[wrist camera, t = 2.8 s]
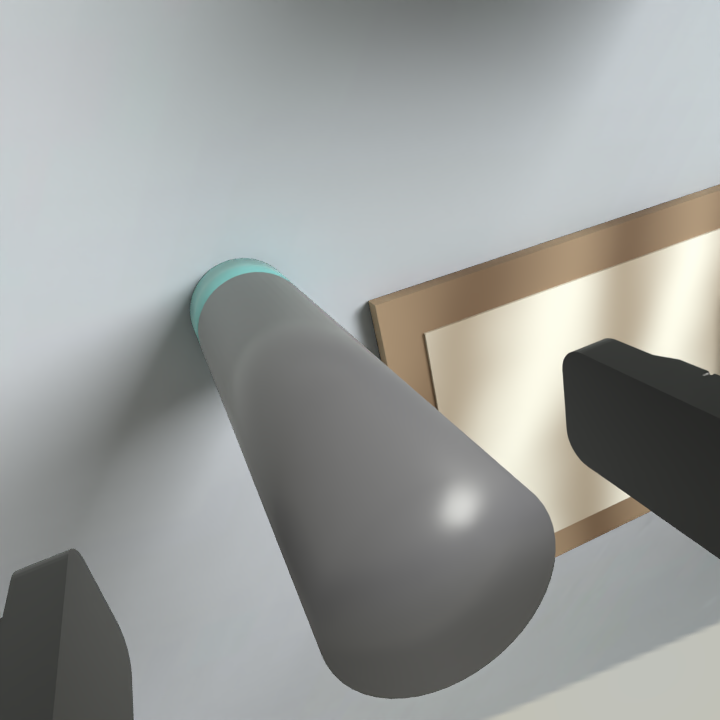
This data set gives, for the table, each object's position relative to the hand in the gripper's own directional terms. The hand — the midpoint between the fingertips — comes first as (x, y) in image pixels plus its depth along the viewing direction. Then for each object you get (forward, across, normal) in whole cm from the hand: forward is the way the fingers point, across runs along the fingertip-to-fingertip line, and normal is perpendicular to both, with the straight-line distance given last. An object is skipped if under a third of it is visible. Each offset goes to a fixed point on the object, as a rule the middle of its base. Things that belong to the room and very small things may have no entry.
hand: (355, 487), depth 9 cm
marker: (+10, 0, 0) cm, 10 cm away
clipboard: (+10, -13, +8) cm, 19 cm away
